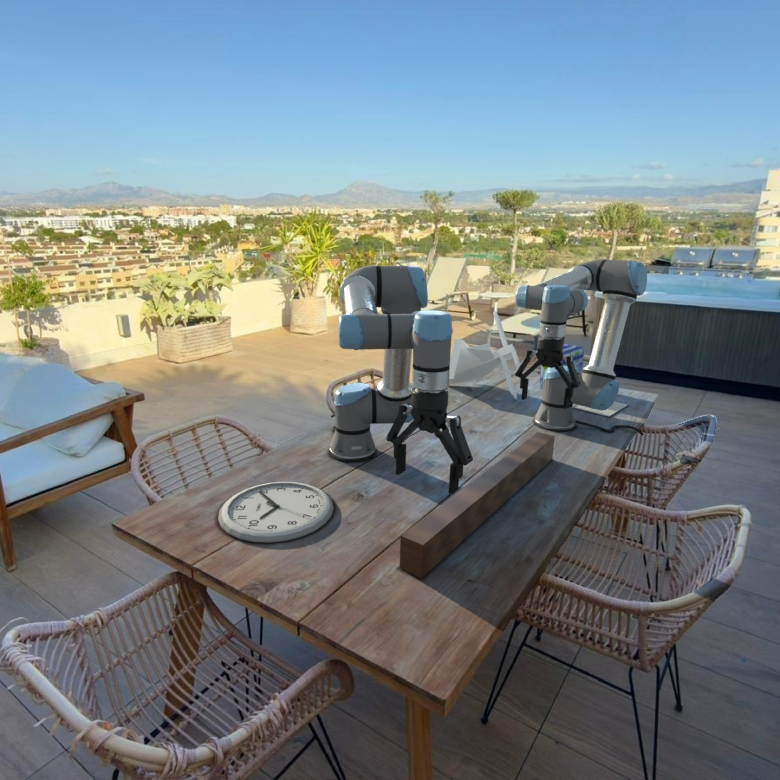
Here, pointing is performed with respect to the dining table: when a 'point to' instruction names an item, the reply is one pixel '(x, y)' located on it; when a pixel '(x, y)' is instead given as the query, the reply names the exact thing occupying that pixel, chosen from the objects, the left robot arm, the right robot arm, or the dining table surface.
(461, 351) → the white plastic object
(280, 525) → the wall clock
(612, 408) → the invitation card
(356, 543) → the dining table surface
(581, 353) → the lunch box
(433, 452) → the dining table surface
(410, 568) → the bar
